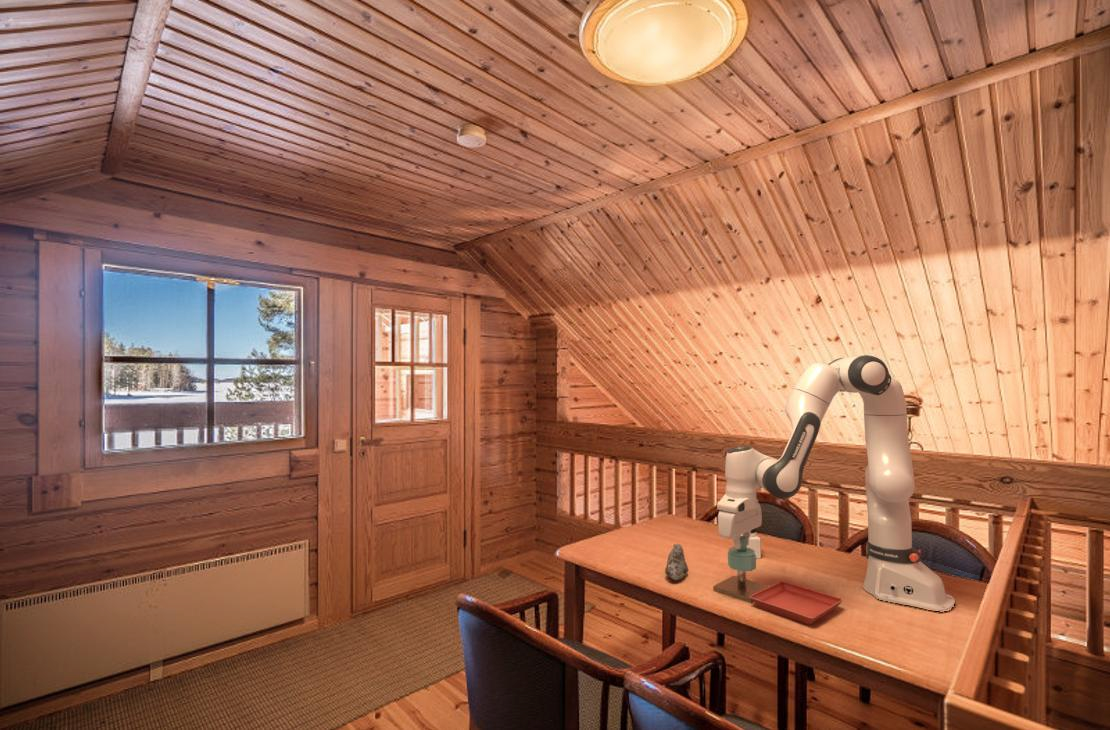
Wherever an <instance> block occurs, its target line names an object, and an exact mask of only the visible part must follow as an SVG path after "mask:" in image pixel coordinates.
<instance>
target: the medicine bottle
mask: <svg viewBox="0 0 1110 730" xmlns="http://www.w3.org/2000/svg"><path fill="white" fill-rule="evenodd" d="M741 536H743V534H741ZM761 545H762V541H761V538H760V537H759V536H758V535H757V528H755V529H752V530H751V535H750V538H749V545H747V548H750V549H753V550H754V551H755V555H756V560H757V559H762V549H761V548H762V546H761Z"/></svg>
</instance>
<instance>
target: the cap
mask: <svg viewBox="0 0 1110 730" xmlns="http://www.w3.org/2000/svg"><path fill="white" fill-rule="evenodd" d="M740 542H741V543H742V548H741V549H735V548H734V546H732V547H730V548H728V551H727V565H728V567H729V568H730V569H731V570H734V571H735V570H736V571H737V570H738V571H746V572H753V571H754V570H756V569H757V559H756V555H755V551H754V550H753V549H750V548H747V543H746V537H745V536H741V537H740Z"/></svg>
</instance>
